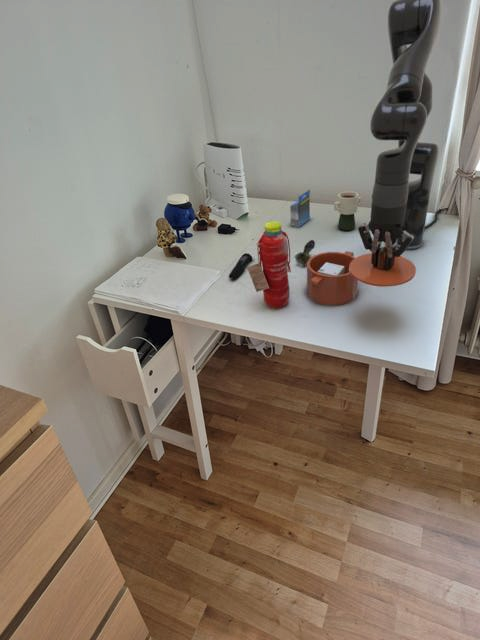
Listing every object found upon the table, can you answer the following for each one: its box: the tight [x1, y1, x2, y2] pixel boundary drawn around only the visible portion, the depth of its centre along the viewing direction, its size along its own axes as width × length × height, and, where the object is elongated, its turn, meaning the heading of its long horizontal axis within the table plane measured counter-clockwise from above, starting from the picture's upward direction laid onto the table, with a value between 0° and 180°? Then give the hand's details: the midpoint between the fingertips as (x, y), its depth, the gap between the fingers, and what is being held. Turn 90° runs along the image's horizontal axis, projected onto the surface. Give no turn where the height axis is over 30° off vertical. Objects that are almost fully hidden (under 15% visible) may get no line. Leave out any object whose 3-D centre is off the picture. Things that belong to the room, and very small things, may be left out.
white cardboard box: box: [318, 262, 345, 275], centre depth 129 cm, size 6×6×7 cm
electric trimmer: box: [228, 252, 253, 280], centre depth 146 cm, size 4×16×3 cm, turn 158°
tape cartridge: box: [289, 189, 311, 228], centre depth 169 cm, size 9×4×12 cm, turn 144°
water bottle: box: [246, 220, 292, 309], centre depth 121 cm, size 12×8×25 cm, turn 107°
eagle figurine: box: [294, 239, 316, 268], centre depth 146 cm, size 8×7×9 cm
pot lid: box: [349, 246, 417, 288], centre depth 107 cm, size 16×16×6 cm
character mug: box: [333, 191, 362, 231], centre depth 161 cm, size 11×7×13 cm, turn 108°
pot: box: [306, 250, 359, 306], centre depth 128 cm, size 15×20×10 cm
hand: (381, 266), depth 108 cm, fingers closed on pot lid, 2 cm apart
